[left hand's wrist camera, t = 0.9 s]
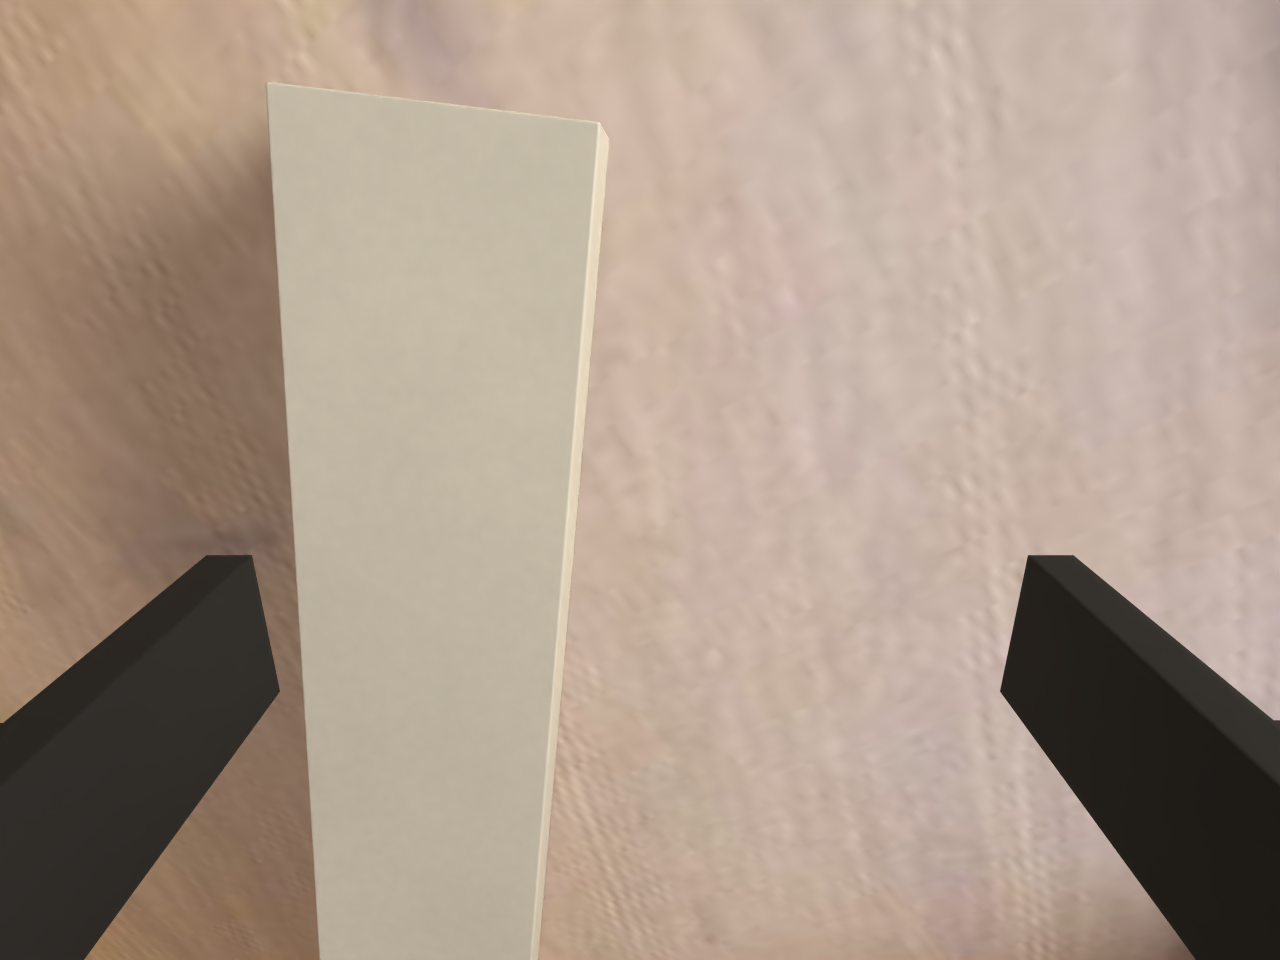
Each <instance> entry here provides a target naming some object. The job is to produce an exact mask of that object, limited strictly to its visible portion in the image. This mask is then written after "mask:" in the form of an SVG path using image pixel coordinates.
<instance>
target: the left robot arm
mask: <svg viewBox="0 0 1280 960" xmlns="http://www.w3.org/2000/svg"><path fill="white" fill-rule="evenodd" d="M279 692H280V690H279V685H278V680H277V675H276V670H275V665H274V660H273V656H272V651H271V646H270V641H269V636H268V631H267V626H266V622H265V617H264V612H263V607H262V602H261V597H260V592H259V588H258V583H257V578H256V573H255V568H254V563H253V558H252V555H206V556H205V557H204V558H203V559H202V560H200V561H199V562H198V563H197V564H196V565H194V566H193V567H192V568H191V569H189V570H188V571H187V572H186V573H185V574H183V575H182V576H181V577H180V578H179V579H177V580H176V581H175V582H174V583H172V584H171V585H170V586H169V587H168V588H166V589H165V590H164V591H163V592H162V593H160V594H159V595H158V596H157V597H156V598H154V599H153V600H152V601H151V602H149V603H148V604H147V605H146V606H145V607H143V608H142V609H141V610H140V611H139V612H137V613H136V614H135V615H134V616H132V617H131V618H130V619H129V620H128V621H126V622H125V623H124V624H123V625H122V626H120V627H119V628H118V629H117V630H115V631H114V632H113V633H112V634H111V635H109V636H108V637H107V638H106V639H105V640H103V641H102V642H101V643H100V644H98V645H97V646H96V647H95V648H94V649H92V650H91V651H90V652H89V653H88V654H86V655H85V656H84V657H83V658H81V659H80V660H79V661H78V662H77V663H75V664H74V665H73V666H72V667H71V668H69V669H68V670H67V671H66V672H64V673H63V674H62V675H61V676H60V677H58V678H57V679H56V680H55V681H54V682H52V683H51V684H50V685H49V686H47V687H46V688H45V689H44V690H43V691H41V692H40V693H39V694H38V695H37V696H35V697H34V698H33V699H32V700H31V701H29V702H28V703H27V704H26V705H24V706H23V707H22V708H21V709H20V710H18V711H17V712H16V713H15V714H14V715H12V716H11V717H10V718H9V719H7V720H6V721H5V722H4V723H0V960H84V959H85V958H86V956H87V955H88V954H89V952H90V951H91V949H92V948H93V947H94V945H95V944H96V943H97V941H98V940H99V938H100V937H101V936H102V934H103V933H104V932H105V930H106V929H107V928H108V926H109V925H110V923H111V922H112V921H113V919H114V918H115V917H116V915H117V914H118V912H119V911H120V910H121V908H122V907H123V906H124V904H125V903H126V901H127V900H128V899H129V897H130V896H131V895H132V893H133V892H134V891H135V889H136V888H137V886H138V885H139V884H140V882H141V881H142V880H143V878H144V877H145V875H146V874H147V873H148V871H149V870H150V869H151V867H152V866H153V865H154V863H155V862H156V860H157V859H158V858H159V856H160V855H161V854H162V852H163V851H164V849H165V848H166V847H167V845H168V844H169V843H170V841H171V840H172V838H173V837H174V836H175V834H176V833H177V832H178V830H179V829H180V828H181V826H182V825H183V823H184V822H185V821H186V819H187V818H188V817H189V815H190V814H191V812H192V811H193V810H194V808H195V807H196V806H197V804H198V803H199V802H200V800H201V799H202V797H203V796H204V795H205V793H206V792H207V791H208V789H209V788H210V786H211V785H212V784H213V782H214V781H215V780H216V778H217V777H218V775H219V774H220V773H221V771H222V770H223V769H224V767H225V766H226V765H227V763H228V762H229V760H230V759H231V758H232V756H233V755H234V754H235V752H236V751H237V749H238V748H239V747H240V745H241V744H242V743H243V741H244V740H245V739H246V737H247V736H248V734H249V733H250V732H251V730H252V729H253V728H254V726H255V725H256V723H257V722H258V721H259V719H260V718H261V717H262V715H263V714H264V713H265V711H266V710H267V708H268V707H269V706H270V704H271V703H272V702H273V700H274V699H275V697H276V696H277V695H278V693H279ZM1000 692H1001V693H1002V695H1003V696H1004V697H1005V699H1006V700H1007V702H1008V703H1009V704H1010V706H1011V707H1012V708H1013V710H1014V711H1015V713H1016V714H1017V715H1018V717H1019V718H1020V719H1021V721H1022V722H1023V723H1024V725H1025V726H1026V728H1027V729H1028V730H1029V732H1030V733H1031V734H1032V736H1033V737H1034V739H1035V740H1036V741H1037V743H1038V744H1039V745H1040V747H1041V748H1042V749H1043V751H1044V752H1045V754H1046V755H1047V756H1048V758H1049V759H1050V760H1051V762H1052V763H1053V765H1054V766H1055V767H1056V769H1057V770H1058V771H1059V773H1060V774H1061V776H1062V777H1063V778H1064V780H1065V781H1066V782H1067V784H1068V785H1069V786H1070V788H1071V789H1072V791H1073V792H1074V793H1075V795H1076V796H1077V797H1078V799H1079V800H1080V802H1081V803H1082V804H1083V806H1084V807H1085V808H1086V810H1087V811H1088V812H1089V814H1090V815H1091V817H1092V818H1093V819H1094V821H1095V822H1096V823H1097V825H1098V826H1099V828H1100V829H1101V830H1102V832H1103V833H1104V834H1105V836H1106V837H1107V838H1108V840H1109V841H1110V843H1111V844H1112V845H1113V847H1114V848H1115V849H1116V851H1117V852H1118V854H1119V855H1120V856H1121V858H1122V859H1123V860H1124V862H1125V863H1126V865H1127V866H1128V867H1129V869H1130V870H1131V871H1132V873H1133V874H1134V875H1135V877H1136V878H1137V880H1138V881H1139V882H1140V884H1141V885H1142V886H1143V888H1144V889H1145V891H1146V892H1147V893H1148V895H1149V896H1150V897H1151V899H1152V900H1153V901H1154V903H1155V904H1156V906H1157V907H1158V908H1159V910H1160V911H1161V912H1162V914H1163V915H1164V917H1165V918H1166V919H1167V921H1168V922H1169V923H1170V925H1171V926H1172V928H1173V929H1174V930H1175V932H1176V933H1177V934H1178V936H1179V937H1180V938H1181V940H1182V941H1183V943H1184V944H1185V945H1186V947H1187V948H1188V949H1189V951H1190V952H1191V954H1192V955H1193V956H1194V958H1195V959H1196V960H1280V720H1273V719H1271V718H1270V717H1269V716H1268V715H1266V714H1265V713H1264V712H1263V711H1262V710H1260V709H1259V708H1258V707H1257V706H1256V705H1254V704H1253V703H1252V702H1251V701H1249V700H1248V699H1247V698H1246V697H1245V696H1243V695H1242V694H1241V693H1240V692H1239V691H1237V690H1236V689H1235V688H1234V687H1232V686H1231V685H1230V684H1229V683H1228V682H1226V681H1225V680H1224V679H1223V678H1222V677H1220V676H1219V675H1218V674H1217V673H1216V672H1214V671H1213V670H1212V669H1211V668H1209V667H1208V666H1207V665H1206V664H1205V663H1203V662H1202V661H1201V660H1200V659H1199V658H1197V657H1196V656H1195V655H1194V654H1192V653H1191V652H1190V651H1189V650H1188V649H1186V648H1185V647H1184V646H1183V645H1182V644H1180V643H1179V642H1178V641H1177V640H1175V639H1174V638H1173V637H1172V636H1171V635H1169V634H1168V633H1167V632H1166V631H1165V630H1163V629H1162V628H1161V627H1160V626H1158V625H1157V624H1156V623H1155V622H1154V621H1152V620H1151V619H1150V618H1149V617H1148V616H1146V615H1145V614H1144V613H1143V612H1141V611H1140V610H1139V609H1138V608H1137V607H1135V606H1134V605H1133V604H1132V603H1131V602H1129V601H1128V600H1127V599H1126V598H1124V597H1123V596H1122V595H1121V594H1120V593H1118V592H1117V591H1116V590H1115V589H1114V588H1112V587H1111V586H1110V585H1109V584H1108V583H1106V582H1105V581H1104V580H1103V579H1101V578H1100V577H1099V576H1098V575H1097V574H1095V573H1094V572H1093V571H1092V570H1091V569H1089V568H1088V567H1087V566H1086V565H1084V564H1083V563H1082V562H1081V561H1080V560H1078V559H1077V558H1076V557H1075V556H1074V555H1028V558H1027V563H1026V568H1025V573H1024V578H1023V583H1022V588H1021V592H1020V597H1019V602H1018V607H1017V612H1016V617H1015V622H1014V626H1013V631H1012V636H1011V641H1010V646H1009V651H1008V656H1007V660H1006V665H1005V670H1004V675H1003V680H1002V685H1001V690H1000Z"/></svg>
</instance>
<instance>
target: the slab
mask: <svg viewBox="0 0 1280 960" xmlns="http://www.w3.org/2000/svg"><path fill="white" fill-rule="evenodd" d="M266 98H267V114H268V130H269V146H270V163H271V179H272V195H273V211H274V228H275V244H276V260H277V276H278V292H279V309H280V325H281V341H282V357H283V374H284V390H285V406H286V422H287V439H288V455H289V471H290V487H291V504H292V520H293V536H294V552H295V568H296V585H297V601H298V617H299V633H300V650H301V666H302V682H303V698H304V715H305V731H306V747H307V763H308V779H309V796H310V812H311V828H312V844H313V861H314V877H315V893H316V909H317V926H318V942H319V958H320V960H538V956H539V944H540V933H541V921H542V910H543V898H544V887H545V875H546V864H547V852H548V841H549V829H550V818H551V806H552V795H553V783H554V772H555V760H556V749H557V737H558V726H559V714H560V703H561V691H562V680H563V668H564V657H565V645H566V634H567V623H568V611H569V600H570V588H571V577H572V565H573V554H574V542H575V531H576V519H577V508H578V496H579V485H580V473H581V462H582V450H583V439H584V427H585V416H586V404H587V393H588V381H589V370H590V358H591V347H592V335H593V324H594V312H595V301H596V290H597V278H598V267H599V255H600V244H601V232H602V221H603V209H604V198H605V186H606V175H607V163H608V152H609V139H608V137H607V135H606V133H605V132H604V130H603V128H602V126H601V124H600V123H599V122H596V121H588V120H580V119H571V118H563V117H555V116H547V115H539V114H530V113H522V112H514V111H506V110H497V109H489V108H481V107H473V106H465V105H456V104H448V103H440V102H432V101H423V100H415V99H407V98H399V97H390V96H382V95H374V94H366V93H358V92H349V91H341V90H333V89H325V88H316V87H308V86H300V85H292V84H284V83H275V82H266Z"/></svg>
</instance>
